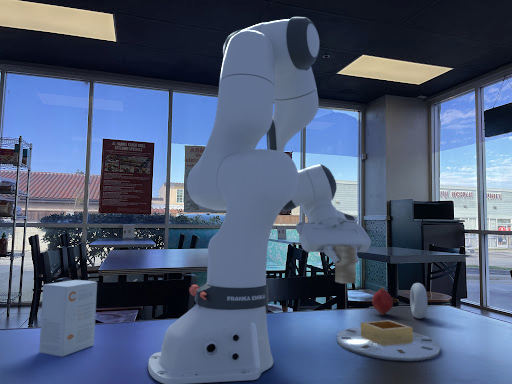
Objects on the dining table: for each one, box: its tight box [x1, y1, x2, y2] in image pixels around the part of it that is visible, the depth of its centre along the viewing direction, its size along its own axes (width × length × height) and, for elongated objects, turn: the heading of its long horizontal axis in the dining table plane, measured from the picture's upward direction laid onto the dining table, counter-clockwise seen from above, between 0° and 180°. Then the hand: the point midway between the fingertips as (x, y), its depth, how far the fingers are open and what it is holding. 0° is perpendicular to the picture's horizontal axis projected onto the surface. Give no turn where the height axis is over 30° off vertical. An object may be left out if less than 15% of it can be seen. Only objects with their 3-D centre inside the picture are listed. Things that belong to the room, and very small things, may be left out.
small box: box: [38, 279, 98, 358], centre depth 78 cm, size 8×6×13 cm
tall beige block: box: [334, 247, 357, 284], centre depth 100 cm, size 4×3×9 cm
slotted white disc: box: [336, 319, 440, 362], centre depth 85 cm, size 21×21×4 cm
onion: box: [371, 287, 394, 316], centre depth 116 cm, size 6×6×8 cm
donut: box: [409, 282, 428, 320], centre depth 112 cm, size 10×4×10 cm, turn 168°
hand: (346, 261), depth 100 cm, fingers closed on tall beige block, 4 cm apart
